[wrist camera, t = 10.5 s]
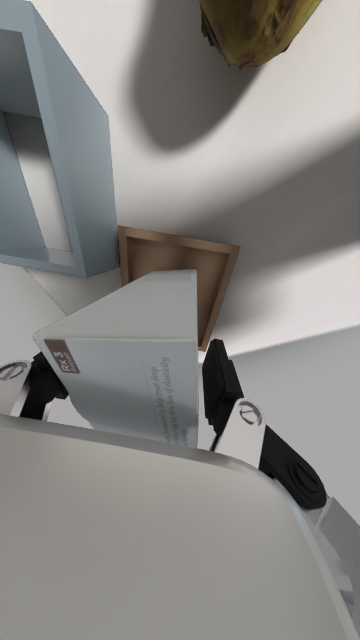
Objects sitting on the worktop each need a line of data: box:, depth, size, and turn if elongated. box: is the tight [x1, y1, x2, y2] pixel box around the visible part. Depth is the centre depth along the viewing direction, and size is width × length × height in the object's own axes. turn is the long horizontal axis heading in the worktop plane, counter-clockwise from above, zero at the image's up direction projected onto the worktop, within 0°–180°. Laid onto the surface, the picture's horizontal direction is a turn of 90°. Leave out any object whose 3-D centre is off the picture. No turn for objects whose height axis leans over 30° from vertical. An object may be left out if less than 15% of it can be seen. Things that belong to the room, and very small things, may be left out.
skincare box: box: [33, 269, 199, 448], centre depth 12 cm, size 8×6×15 cm
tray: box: [118, 226, 240, 352], centre depth 18 cm, size 13×15×2 cm
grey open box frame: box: [0, 0, 120, 278], centre depth 12 cm, size 11×13×6 cm
